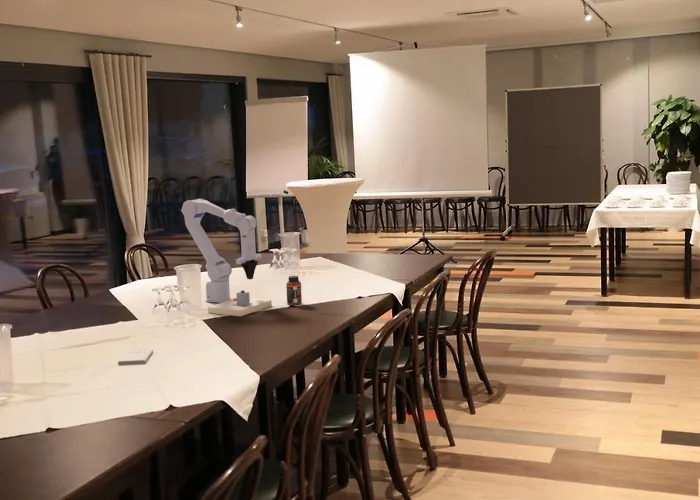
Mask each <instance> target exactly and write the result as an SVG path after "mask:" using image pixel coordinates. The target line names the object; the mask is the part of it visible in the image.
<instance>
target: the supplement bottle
mask: <svg viewBox="0 0 700 500" xmlns="http://www.w3.org/2000/svg"><path fill="white" fill-rule="evenodd" d="M285 287H286V303H287V305H289V306H298V305H301V304H302V303H303V301H302V300H303V298H302V282H301V281H300V279H299V275H289V276H288V281H286V286H285Z"/></svg>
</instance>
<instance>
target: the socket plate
mask: <svg viewBox="0 0 700 500" xmlns="http://www.w3.org/2000/svg"><path fill="white" fill-rule="evenodd" d="M268 307H272V299H265V298H264V299H263V298H253V297H250V305H249V306H246V307H241V306H237V297H235V298H234V299H232V300H229V301H226V302H222V303H216V304H213V305H210V306H207V313H208V314H217V315H218V314H219V315H226V316H232V317H233V316H234V317H242V316H246V315H249V314H252V313H254V312H257V311H260V310H263V309H266V308H268Z"/></svg>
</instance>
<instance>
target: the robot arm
mask: <svg viewBox="0 0 700 500" xmlns="http://www.w3.org/2000/svg"><path fill="white" fill-rule="evenodd" d="M236 210H237V209H236V208H230V209H227V210H226V209H224V208H222V207H220V206H218V205H216V204H214V203H211V202H210V201H208V200H206V199H203V198H197V199H191V200H186V201H184V202H183V204H182V207H181V213H182V215H183V216H184V224H185V227H186V229H187V231H188V233H189V234H190V236H191V237H192V239H193V241H194V242H195V244H196V245H197V248H198V250H200V252H201V254H202V256H203V258H204V259H205V261H206V264H205V269H206V272H207V276H208V278H209V279H208V280H207V282H206V284H205V294H206V296H205V297H206V299H205V302H209V303H216V304H219V303H222V302H226V301H229V300H232V299H235V298H234V297H231V291H230V276H231V275H232V273H233V268H232V266H231V264H230V263H228V262H227V261H226V260H225V258H223V257H222V256H220V255H219V254H218V252H217V250H216V249H215V247H214V245H213V244H212V241H211V240H210V238H209V236H208V235H207V233H206V232H205V230H204V228H203V227H202V225H201V221H202V218H203V217H204V215H205V213H209V214H211V215H214V216H217V217H219V218H222V219H223V221H224V222H225V223H227V224H229V225H231V226H233V227H236V228H238V230H239V234H240V245H241V246H240V247H241V249H240V250H241V257H238V258H237V259H235V265H241V268H242V269H243V270H244V274H245V277H246V280H253V279H254V275H255V271H256V268H257V266H258V263H259V262H258V260H262V259H263V256H262V255H263V254H261V253H257V252H256V251H257V249H256V247H257V246H256V231H255V228H256V227H257V224H258V222H257V219H256V218H255V217H254V216H253V215H252V214H251V215H246V213H244V212H243V213H241V212H238V211H236Z"/></svg>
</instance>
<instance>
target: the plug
mask: <svg viewBox="0 0 700 500" xmlns="http://www.w3.org/2000/svg"><path fill="white" fill-rule="evenodd" d="M236 298H237V306H241V307H246V306H249V305H250V298H251V297H250V292H249V291H248V292H247V291H245V290H243V289H242V290H240V291H239V292H236Z"/></svg>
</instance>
